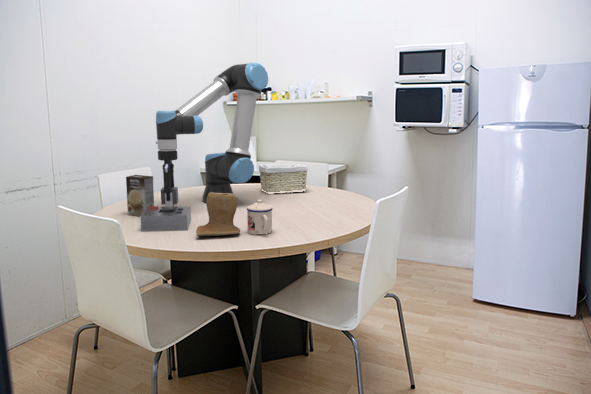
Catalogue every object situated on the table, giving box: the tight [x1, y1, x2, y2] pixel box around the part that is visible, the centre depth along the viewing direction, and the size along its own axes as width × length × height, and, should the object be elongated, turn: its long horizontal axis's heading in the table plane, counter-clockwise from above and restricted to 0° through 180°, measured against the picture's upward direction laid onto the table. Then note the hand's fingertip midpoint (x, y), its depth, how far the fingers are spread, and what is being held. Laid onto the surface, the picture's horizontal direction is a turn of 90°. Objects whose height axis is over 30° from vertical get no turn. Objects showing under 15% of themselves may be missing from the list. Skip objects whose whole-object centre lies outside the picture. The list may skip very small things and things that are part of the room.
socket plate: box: [140, 205, 192, 232], centre depth 170 cm, size 16×16×6 cm
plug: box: [160, 186, 179, 207], centre depth 185 cm, size 6×6×11 cm
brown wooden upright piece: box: [195, 192, 241, 237], centre depth 157 cm, size 15×12×15 cm
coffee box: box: [125, 174, 155, 217], centre depth 186 cm, size 9×6×16 cm
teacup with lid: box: [246, 199, 273, 235], centre depth 160 cm, size 12×9×12 cm
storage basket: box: [258, 162, 309, 192], centre depth 246 cm, size 24×16×15 cm
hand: (170, 206), depth 185 cm, fingers closed on plug, 6 cm apart
